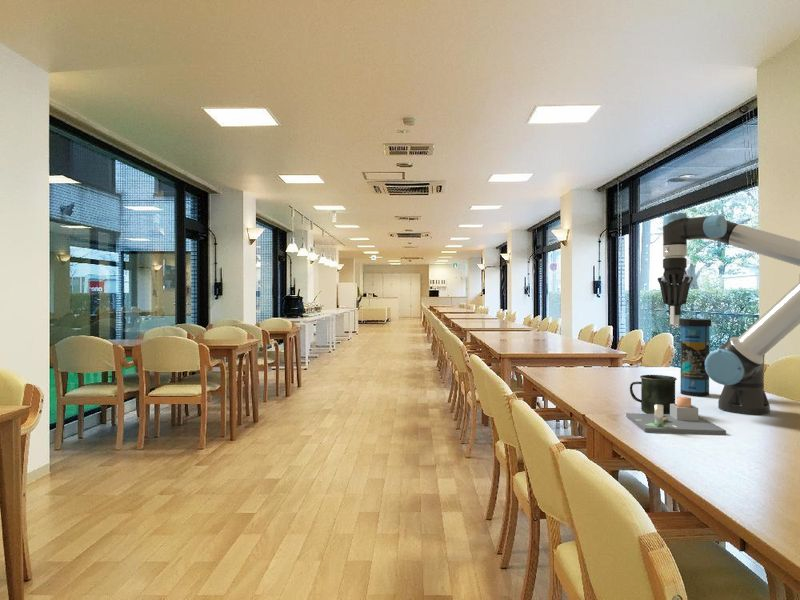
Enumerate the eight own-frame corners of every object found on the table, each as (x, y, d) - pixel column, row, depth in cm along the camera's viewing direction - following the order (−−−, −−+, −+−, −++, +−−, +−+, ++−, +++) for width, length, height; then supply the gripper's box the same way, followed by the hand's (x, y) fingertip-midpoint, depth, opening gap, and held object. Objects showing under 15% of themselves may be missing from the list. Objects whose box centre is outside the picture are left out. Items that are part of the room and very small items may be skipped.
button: (688, 412, 174) (688, 396, 174) (693, 415, 170) (693, 399, 170) (674, 412, 174) (674, 396, 174) (679, 415, 170) (679, 398, 170)
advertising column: (672, 392, 222) (672, 318, 222) (694, 391, 226) (694, 318, 225) (694, 397, 212) (695, 320, 211) (717, 395, 215) (718, 319, 215)
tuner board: (697, 418, 176) (697, 403, 176) (726, 434, 156) (726, 417, 156) (626, 416, 179) (626, 401, 179) (645, 432, 159) (645, 415, 159)
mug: (675, 417, 178) (675, 380, 178) (627, 412, 186) (627, 377, 185) (677, 411, 188) (677, 376, 187) (631, 406, 195) (631, 373, 195)
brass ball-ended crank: (657, 418, 170) (657, 399, 170) (668, 419, 169) (668, 400, 169) (652, 425, 161) (652, 405, 161) (664, 426, 160) (664, 406, 160)
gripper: (651, 258, 198) (651, 323, 198) (683, 256, 186) (682, 325, 186) (667, 258, 201) (666, 323, 201) (698, 256, 189) (698, 325, 189)
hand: (674, 324), depth 194 cm, fingers closed
